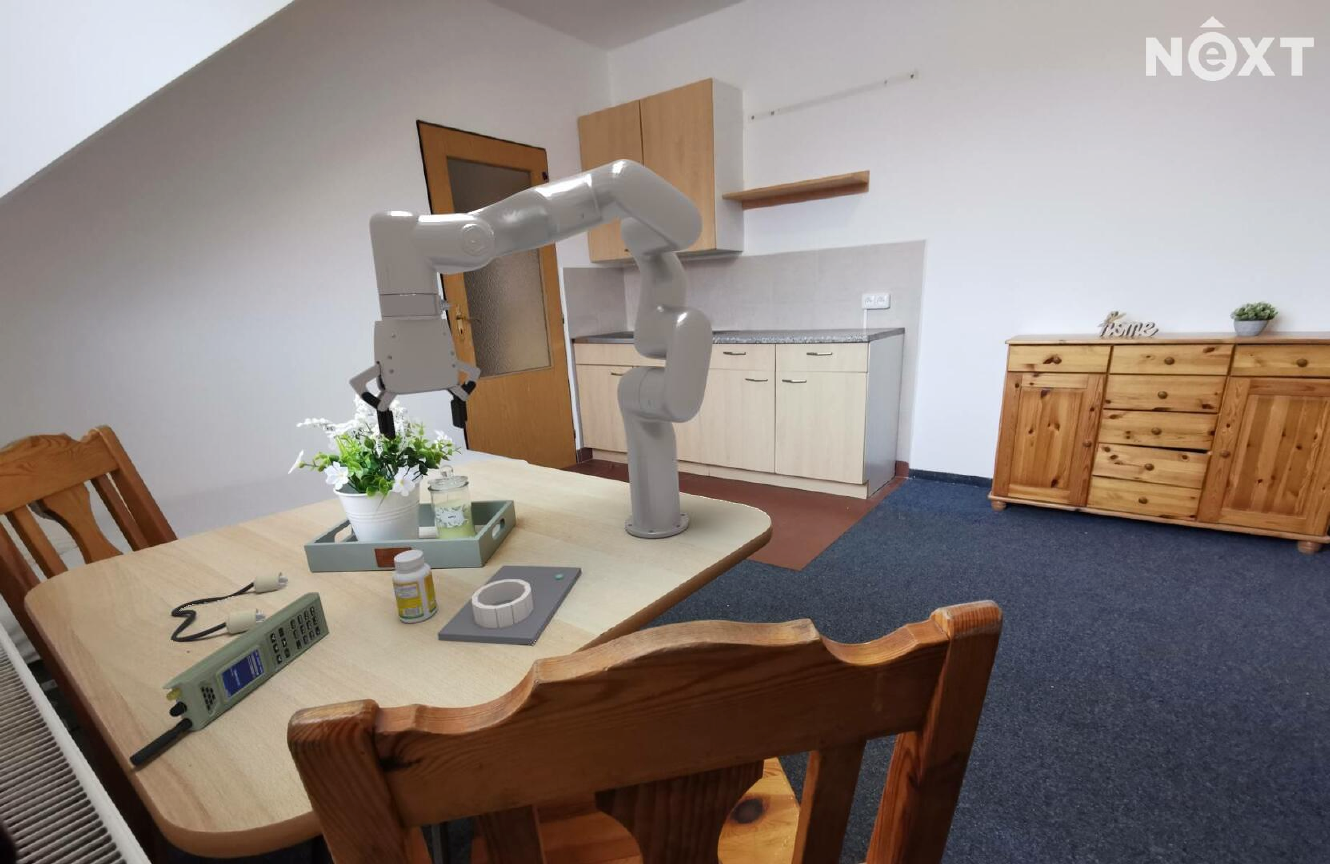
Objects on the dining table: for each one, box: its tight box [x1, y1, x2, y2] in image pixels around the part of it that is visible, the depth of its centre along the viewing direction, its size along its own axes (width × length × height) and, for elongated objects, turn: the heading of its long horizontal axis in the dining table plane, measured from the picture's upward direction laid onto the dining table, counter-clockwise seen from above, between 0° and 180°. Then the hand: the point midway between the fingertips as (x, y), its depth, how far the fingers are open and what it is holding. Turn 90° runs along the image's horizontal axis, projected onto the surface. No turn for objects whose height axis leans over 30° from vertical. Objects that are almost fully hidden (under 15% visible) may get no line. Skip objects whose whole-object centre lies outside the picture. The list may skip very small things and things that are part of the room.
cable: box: [170, 571, 289, 643], centre depth 88 cm, size 16×16×4 cm
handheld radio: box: [129, 591, 330, 767], centre depth 70 cm, size 7×3×25 cm
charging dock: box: [437, 564, 582, 645], centre depth 86 cm, size 20×14×4 cm
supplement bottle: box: [391, 549, 438, 624], centre depth 84 cm, size 5×5×10 cm
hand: (426, 432), depth 80 cm, fingers open, 9 cm apart
